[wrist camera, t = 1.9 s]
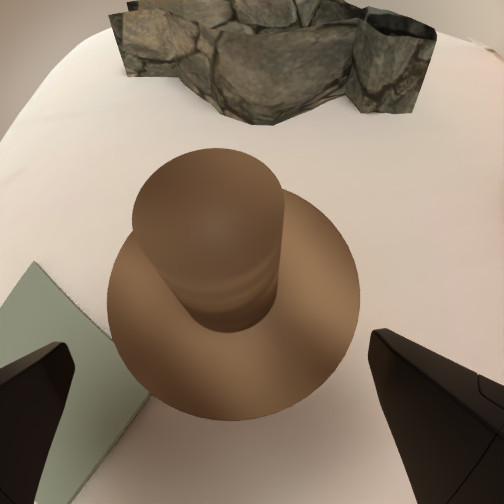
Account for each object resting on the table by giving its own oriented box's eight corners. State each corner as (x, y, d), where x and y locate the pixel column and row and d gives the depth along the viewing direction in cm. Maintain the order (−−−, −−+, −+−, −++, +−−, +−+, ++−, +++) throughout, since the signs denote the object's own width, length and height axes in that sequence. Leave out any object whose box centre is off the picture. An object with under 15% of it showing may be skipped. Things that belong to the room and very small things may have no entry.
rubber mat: (58, 519, 14) (54, 520, 13) (-40, 386, 18) (-44, 385, 17) (160, 381, 19) (158, 380, 18) (37, 263, 23) (33, 260, 23)
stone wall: (406, 69, 35) (422, 8, 26) (422, 162, 27) (460, 81, 18) (164, 40, 40) (152, -15, 31) (97, 115, 32) (67, 47, 23)
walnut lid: (266, 468, 13) (268, 526, 6) (74, 319, 16) (-18, 259, 9) (391, 257, 18) (453, 167, 10) (208, 161, 21) (187, 60, 14)
